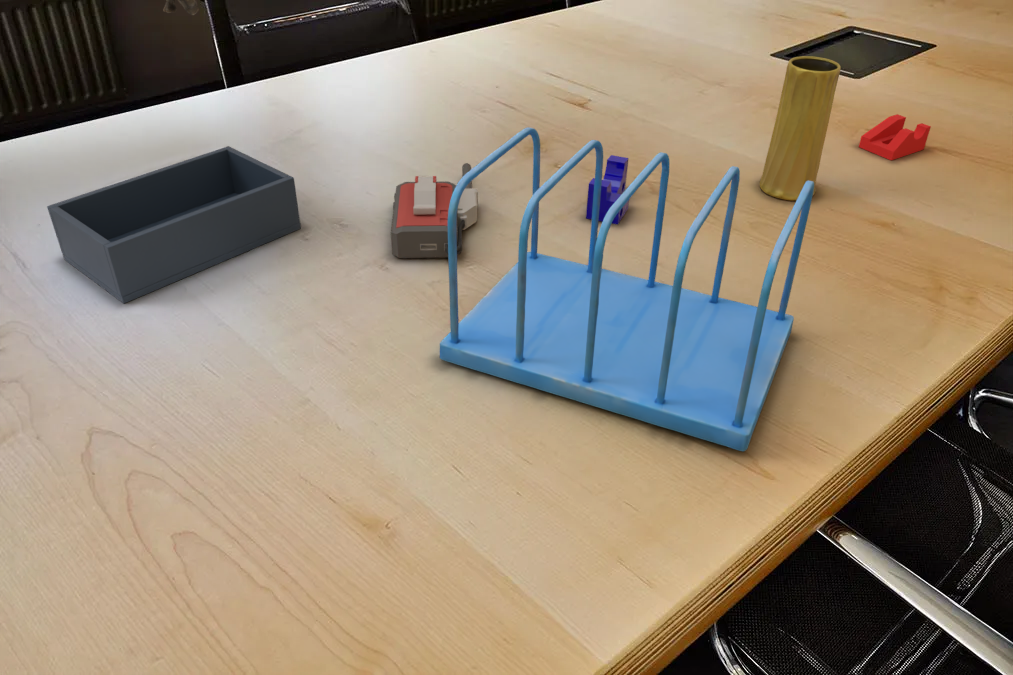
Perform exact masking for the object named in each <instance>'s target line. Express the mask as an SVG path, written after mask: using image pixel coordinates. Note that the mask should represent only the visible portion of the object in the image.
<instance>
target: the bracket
mask: <svg viewBox="0 0 1013 675" xmlns="http://www.w3.org/2000/svg"><path fill="white" fill-rule="evenodd" d="M906 120H907V117H906V116H903V115H900V114H898V113H896V114H894V115H890V116H888V117H887V118H885V119H884V120H882V121H881V122H880V123H878V124H877V125H875V126H874V127H872V128H870V129H869V130H868V131H866V132H865V133H864V134H862V135H861V136H860V140H859V143H858V148H860V149H862V150H865V151H867V152H870V153H872V154H874V155H877V156H879V157H882V158H884V159H887V160H889V161H894V160H897V159H900V158H902V157H905V156H909V155H911V154H915V153H917V152H920V151H924V150H925V147H926V144H927V141H928V137H929V134H930V131H931V128H932V126H931V125H929V124H925V123H922V122H921V123H918V124H916V127H915V129H914V130H912V129H908V128H907V127H906V128H905V127H904V126H905V122H906Z"/></svg>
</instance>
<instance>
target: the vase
mask: <svg viewBox="0 0 1013 675" xmlns="http://www.w3.org/2000/svg"><path fill="white" fill-rule="evenodd" d="M840 73H841V65H840V63H838V62H837V61H835V60H832V59H829V58H825V57H821V56H820V57H819V56H812V55H810V56H809V55H802V56H795V57H791V58H790V59H789V60H788V62H787V65H786V70H785V76H784V80H783V85H782V89H781V95H780V98H779V104H778V108H777V113H776V116H775V121H774V126H773V129H772V134H771V137H770V142H769V146H768V149H767V154H766V158H765V162H764V167H763V170H762V175H761V178H760V179H759V180H760V181H759V188H760V189H761V190H762V192H764V193H765V194H766V195H768V196H770V197H772V198H776V199H779V200H785V201H792V202H793V201H795V202H796V201H797V199H798V197H799V194H800V192H801V190H802V188H803V186H804V184H805V183H806V181H808V180H809V181H813V182H814V191H813V196H814V195H815V193H816V183H817V177H818V173H819V170H820V166H821V159H822V156H823V154H822V153H823V148H824V145H825V141H826V136H827V132H828V127H829V123H830V117H831V113H832V108H833V104H834V100H835V93H836V91H837V86H838V83H839V77H840V75H841V74H840Z"/></svg>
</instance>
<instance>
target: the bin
mask: <svg viewBox="0 0 1013 675" xmlns="http://www.w3.org/2000/svg"><path fill="white" fill-rule="evenodd" d="M46 208H47V211H48V212H47V213H48V214H49V217H50V220H51V223H52V227H53V229H54V233H55V236H56V239H57V242H58V245H59V248H60V251H61V253H62V258H63V260H64V261H66V262H67V263H68V264H70V265H71V266H73V267H74V268H75V269H77V270H78V271H79V272H80V273H82V274H83V275H84V276H85V277H87V278H89V279H90V280H91V281H92V282H94V283H96V284H97V285H98V286H99V287H101V288H102V289H104V290H105V291H106V292H108V293H109V294H110V295H111V296H113V297H114V298H116V299H117V300H118V301H120V302H121V303H123V304H127V303H129V302H132V301H133V300H135V299H138V298H141V297H143V296H145V295H148V294H149V293H152V292H155V291H157V290H159V289H162V288H164V287H166V286H169V285H171V284H173V283H176V282H178V281H181V280H183V279H185V278H188V277H190V276H192V275H195V274H197V273H199V272H203V271H204V270H206V269H209V268H211V267H213V266H216V265H218V264H220V263H223V262H225V261H228V260H231V259H232V258H234V257H237V256H240V255H241V254H244V253H246V252H249V251H251V250H254V249H256V248H259V247H261V246H263V245H265V244H267V243H270V242H272V241H275V240H277V239H279V238H282V237H285V236H287V235H288V234H291V233H293V232H296V231H298V230H300V229H301V228H302V225H301V218H300V211H299V210H300V209H299V203H298V198H297V190H296V183H295V177H294V176H292V175H290V174H287V173H286V172H283V171H282V170H279V169H278V168H275V167H273V166H271V165H269V164H267V163H264V162H263V161H260V160H259V159H256V158H254V157H252V156H251V155H248V154H246V153H244V152H241V151H239V150H238V149H236V148H234V147H232V146H229V145H227V146H224V147H222V148H219V149H215V150H212V151H209V152H207V153H203V154H199V155H197V156H194V157H191V158H188V159H186V160H182V161H179V162H176V163H173V164H170V165H167V166H163V167H160V168H157V169H155V170H152V171H149V172H146V173H142V174H140V175H137V176H134V177H131V178H128V179H124V180H122V181H119V182H116V183H112V184H110V185H108V186H104V187H101V188H98V189H95V190H92V191H91V190H90V191H89V192H85V193H82V194H80V195H76V196H73V197H70V198H68V199H64V200H60V201H59V202H55V203H52V204H49V205H47V206H46Z"/></svg>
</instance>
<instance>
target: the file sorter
mask: <svg viewBox="0 0 1013 675" xmlns="http://www.w3.org/2000/svg"><path fill="white" fill-rule="evenodd" d="M529 136H530V137H531V139H532V143H533V144H532V148H533V149H532V152H533V154H532V155H533V156H532V163H533V164H532V196H531V197H530V199H529V201H528V202H527V205H526V207H525V209H524V212H523V215H522V218H521V222H520V228H519V236H518V250H517V252H518V253H517V254H518V255H517V262H516V263H515V264H514V265H513V266H512V267H511V268H510V269H509V271H507V272H506V274H504V275H503V276H502V277H501V279H500V280H499V281H497V283H496V284H495V285H494V286H493V287H492V288H490V290H489V291H488V292H487V293H486V294H485V295H484V296H483V297H482V298H481V299H480V300H479V301H478V303H476V304H475V305H474V307H472V309H471V310H469V312H468V313H467V314H465V316H464V317H463V318H461V319H460V318H459V289H458V286H459V283H458V282H459V281H458V255H457V238H456V218H457V209H458V205H459V201H460V198H461V195H462V193H463V191H464V189H465V187H466V186H467V185H468V184H469V183H470V182H471V181H472V182H473V180H475V179H476V178H477V177H478V176H479V175H480V174H482V173H483V172H485V171H486V170H487V169H488V168H489V167H491V165H493V164H495V163H496V162H498V160H499V159H501V157H503V156H504V155H506V154H507V153H508V152H509V151H511V149H513V148H514V147H515V146H516V145H518V144H520V143H521V142H522V141H523V140H524V139H526V138H527V137H529ZM602 144H603V143H602V142H601V141H600V140H597V139H591V140H589V141H588V142H587V143H586V144H584V146H582V147H581V148H580V149H579V150H578V151H577V152H576V153H575V154H574V155H573V156H571V157H570V158H569V159H568V160H567V161H566V162H565V163H564V164H563V165H562V166H561V167H560V168H558V169H557V171H555V172H554V173H553V174H552V175H551V176H550V177H549V178H548V179H547V180H546V181H545V182H544V183H543V184H541V183H540V182H541V139H540V135H539V132H538V131H537V130H536V129H535V128H533V127H529V126H528V127H525V128H523V129H521V130H520V131H519V132H517V133H516V134H514V135H513V136H512V137H511V138H509V139H508V140H507V141H506V142H504V143H502V145H500V146H499V147H498V148H496V149H495V150H493V151H492V152H491V153H490V154H488V155H487V156H486V157H485V158H483V159H482V160H481V161H480V162H479V163H478V164H476V165H475V166H473V167H472V168H471V170H470V171H469V172H467V173H466V174H465V175H464V176H463V177H461V178H460V179H459V180H458V182H457V184H456V185H457V186H456V187H455V189H454V192H453V194H452V197H451V200H450V204H449V210H448V258H447V260H448V292H449V293H448V294H449V327H450V330H449V333H448V334H447V335H446V336H445V337H443V339H442V340H441V341H440V342H439V359H440V360H441V361H445V362H448V363H450V364H454V365H458V366H459V367H460V366H461V367H464V368H467V369H471V370H474V371H476V372H480V373H484V374H487V375H491V376H494V377H497V378H500V379H504V380H506V381H511V382H513V383H517V384H520V385H522V386H527V387H530V388H534V389H537V390H540V391H543V392H546V393H548V394H553V395H556V396H560V397H562V398H565V399H570V400H572V401H576V402H579V403H583V404H586V405H588V406H592V407H596V408H599V409H602V410H605V411H609V412H612V413H616V414H618V415H622V416H625V417H629V418H631V419H635V420H638V421H642V422H644V423H648V424H650V425H654V426H657V427H661V428H664V429H668V430H671V431H674V432H678V433H681V434H684V435H686V436H691V437H694V438H696V439H700V440H703V441H707V442H711V443H714V444H717V445H720V446H723V447H728V448H729V449H733V450H736V451H739V452H745V451H747V450H748V448H749V445H750V442H751V439H752V436H753V433H754V431H755V428H756V426H757V423H758V420H759V417H760V415H761V412H762V410H763V407H764V404H765V403H766V399H767V396H768V394H769V391H770V389H771V386H772V384H773V380H774V378H775V375H776V372H777V370H778V367H779V364H780V362H781V359H782V356H783V354H784V351H785V348H786V346H787V343H788V341H789V338H790V336H791V334H792V330H793V326H794V320H795V317H794V316H793V315H792V314H788V313H786V312H787V310H788V309H787V308H788V305H789V301H790V296H791V292H792V288H793V283H794V280H795V279H794V278H795V275H796V270H797V265H798V261H799V257H800V253H801V249H802V243H803V241H804V240H803V239H804V237H805V231H806V227H807V222H808V219H809V214H810V210H811V205H812V201H813V196H814V195H813V191H814V182H813V181H809V180H808V181H806V183H805V184H804V186H803V188H802V190H801V192H800V194H799V197H798V199H797V201H795V202H794V205H793V207H792V209H791V211H790V213H789V214H788V217H787V219H786V221H785V223H784V225H783V228H782V230H781V232H780V234H779V236H778V237H777V240H776V242H775V245H774V248H773V250H772V252H771V255H770V257H769V261H768V264H767V267H766V270H765V274H764V277H763V282H762V285H761V290H760V293H759V299H758V303H757V305H756V306H755V305H752V304H748V303H743V302H739V301H735V300H732V299H728V298H722V297H719V296H720V291H721V286H722V281H723V274H724V271H725V270H724V269H725V264H726V260H727V252H728V248H729V242H730V236H731V231H732V227H733V219H734V214H735V210H736V208H735V207H736V204H737V198H738V193H739V188H740V187H739V185H740V179H741V178H740V175H741V170H740V167H739V166H735V165H732V166H730V167H729V168H728V170H727V171H726V172H725V174H724V175H723V177H722V178H721V180H720V181H719V183H718V184H717V185H716V187H715V188H714V190H713V191H712V193H711V194H710V196H709V197H708V199H707V201H706V202H705V203H704V205H703V207H702V208H701V210H700V211H699V213H698V214H697V215H696V217H695V219H694V220H693V222H692V224H690V227H689V229H688V230H687V232H686V234H685V237H684V240H683V242H682V245H681V249H680V251H679V254H678V258H677V263H676V267H675V272H674V277H673V283H672V285H671V284H667V283H663V282H660V281H656V277H657V268H658V261H659V254H660V247H661V238H662V232H663V224H664V217H665V209H666V202H667V192H668V186H669V185H668V184H669V179H670V178H669V176H670V157H669V155H668V153H666V152H662V151H660V152H658V153H657V154H656V155H655V156H654V157H653V158H652V159H651V160H650V161H649V162H648V164H647V165H646V166H645V167H644V168H643V169H642V170H641V172H640V173H639V174H638V175H636V177H635V178H634V180H633V181H632V182H631V183H630V184H629V185H628V187H627V188H625V191H624V192H623V193H622V195H621V196H620V197H619V198H618V199H617V200H616V202H615V203H614V204H613V205H612V206H611V207H610V209H609V210H608V212H607V214H606V216H605V217H604V220H603V222H602V221H601V225H600V227H599V221H598V220H599V208H600V196H601V183H602V180H603V169H604V148H603V145H602ZM592 150H594V151H595V170H594V178H595V183H594V195H593V209H592V219H591V223H590V224H591V225H590V237H589V249H588V250H589V251H588V262H587V264H584V263H580V262H576V261H571V260H568V259H563V258H560V257H556V256H551V255H548V254H547V255H546V254H543V253H539V252H538V245H539V244H538V242H539V217H540V202H541V200H542V199H543V198H544V197H545V196H546V195H547V194H548V193H549V192H550V191H551V190H553V188H554V187H556V185H557V184H558V183H559V182H560V181H561V180H562V179H563V178H564V177H565V176H566V175H567V174H568V173H569V172H570V171H571V170H572V169H574V168H575V167H576V166H577V165H578V164H579V163H580V162H581V161H582V160H583V159H584V158H585V157H586V156H587V155H589V153H591V151H592ZM660 164H661V173H660V181H659V190H658V201H657V208H656V215H655V222H654V231H653V239H652V247H651V254H650V256H651V258H650V265H649V271H648V279H646V278H642V277H639V276H635V275H631V274H626V273H623V272H622V273H621V272H618V271H614V270H610V269H606V268H603V260H604V250H605V245H606V240H607V237H608V234H609V230H610V228H611V226H612V221H613V219H614V218H615V216H616V215H617V213H618V212H619V211H620V210H621V209H622V207H623V206H624V205H625V204H626V203H627V201H628V200H629V201H630V199H631V198H632V197H633V195H634V194H635V193H636V191H637V190H639V188H640V187H641V186H642V185H643V184H644V183H645V181H646V180H647V179H648V178H649V177H650V176H651V174H652V173H653V172H654V171H655V170H656V168H658V166H659V165H660ZM729 184H730V189H729V195H728V201H727V208H726V212H725V216H724V223H723V227H722V232H721V233H722V234H721V239H720V246H719V252H718V257H717V262H716V268H715V273H714V278H713V279H714V280H713V284H712V292H711V294H708V293H704V292H700V291H696V290H691V289H687V288H683V280H684V276H685V271H686V266H687V262H688V258H689V255H690V252H691V249H692V246H693V244H694V241H695V239H696V237H697V235H698V233H699V231H700V229H701V228H702V227H703V225H704V224H705V222H706V220H707V218H708V217H709V215H710V214H711V212H712V211H713V210H714V208H715V206H716V205H717V203H718V201H719V200H720V198H721V197H722V195H723V194H724V192H725V191H726V189H727V188H728V186H729ZM540 185H541V186H540ZM798 218H799V220H798ZM797 221H798V224H797V228H796V232H795V237H794V241H793V246H792V250H791V255H790V258H789V263H788V267H787V271H786V272H787V273H786V277H785V281H784V285H783V290H782V295H781V299H780V302H779V307H778V308H779V309H778V311H777V310H772V309H768V305H769V304H768V303H769V299H770V295H771V291H772V286H773V282H774V279H775V275H776V271H777V268H778V265H779V262H780V259H781V257H782V255H783V254H782V253H783V252H784V249H785V247H786V244H787V242H788V240H789V238H790V236H791V234H792V232H793V229H794V228H795V225H796V223H797ZM530 227H531V232H529V231H530ZM598 230H599V231H598ZM529 233H530V234H531V235H530V236H531V237H530V240H531V241H530V251H528V247H529V246H528V244H529V243H528V241H529ZM459 319H460V321H459Z"/></svg>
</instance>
